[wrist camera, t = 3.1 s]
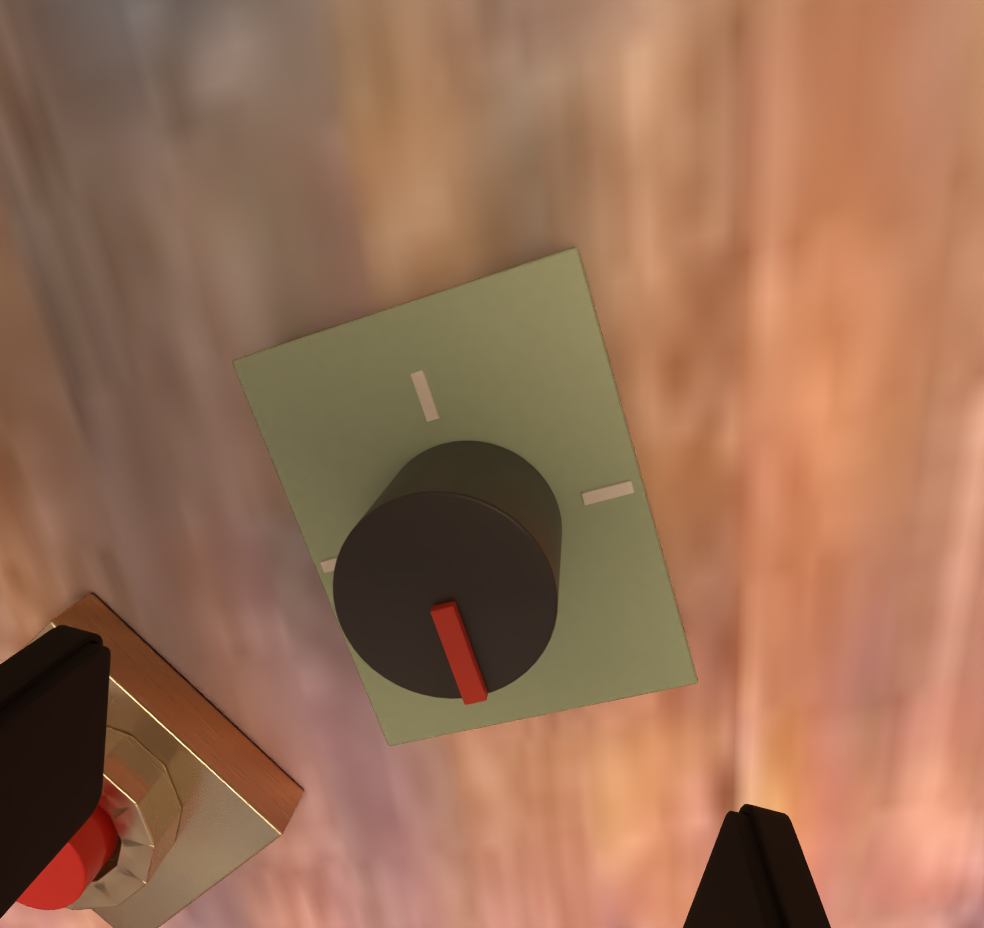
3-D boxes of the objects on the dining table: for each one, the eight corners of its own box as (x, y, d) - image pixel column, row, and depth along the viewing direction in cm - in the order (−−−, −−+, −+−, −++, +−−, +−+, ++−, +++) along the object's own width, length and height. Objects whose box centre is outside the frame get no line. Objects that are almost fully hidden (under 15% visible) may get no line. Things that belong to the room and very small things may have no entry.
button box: (-38, 721, 29) (-133, 793, 25) (92, 591, 26) (9, 649, 22) (164, 898, 30) (104, 992, 26) (305, 791, 28) (261, 876, 24)
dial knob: (356, 467, 20) (292, 530, 16) (531, 417, 19) (517, 468, 15) (417, 626, 22) (373, 727, 17) (584, 586, 21) (586, 682, 16)
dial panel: (273, 347, 23) (227, 362, 20) (577, 246, 21) (577, 245, 18) (408, 692, 26) (386, 750, 23) (684, 632, 24) (699, 687, 21)
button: (0, 816, 25) (-41, 857, 23) (58, 764, 24) (20, 802, 22) (78, 883, 26) (43, 928, 24) (138, 834, 25) (106, 877, 23)
